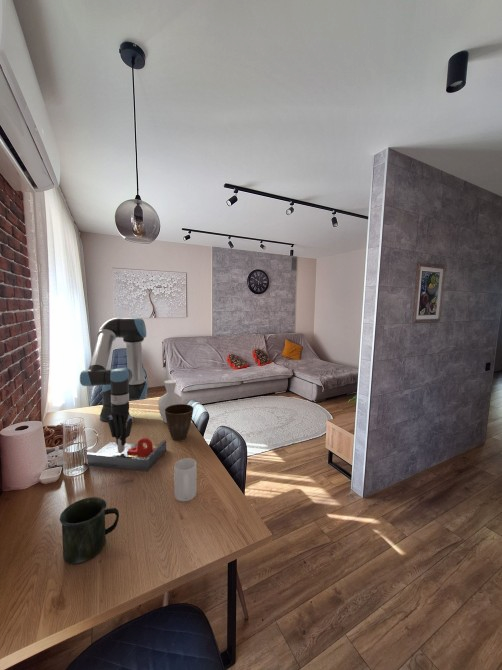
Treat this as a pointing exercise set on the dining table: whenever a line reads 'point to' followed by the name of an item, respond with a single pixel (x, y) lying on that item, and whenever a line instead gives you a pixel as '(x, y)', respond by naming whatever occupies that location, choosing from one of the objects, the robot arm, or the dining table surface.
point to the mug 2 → (185, 479)
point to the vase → (168, 398)
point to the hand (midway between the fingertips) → (121, 451)
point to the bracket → (142, 448)
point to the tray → (125, 457)
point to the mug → (85, 529)
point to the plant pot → (179, 420)
